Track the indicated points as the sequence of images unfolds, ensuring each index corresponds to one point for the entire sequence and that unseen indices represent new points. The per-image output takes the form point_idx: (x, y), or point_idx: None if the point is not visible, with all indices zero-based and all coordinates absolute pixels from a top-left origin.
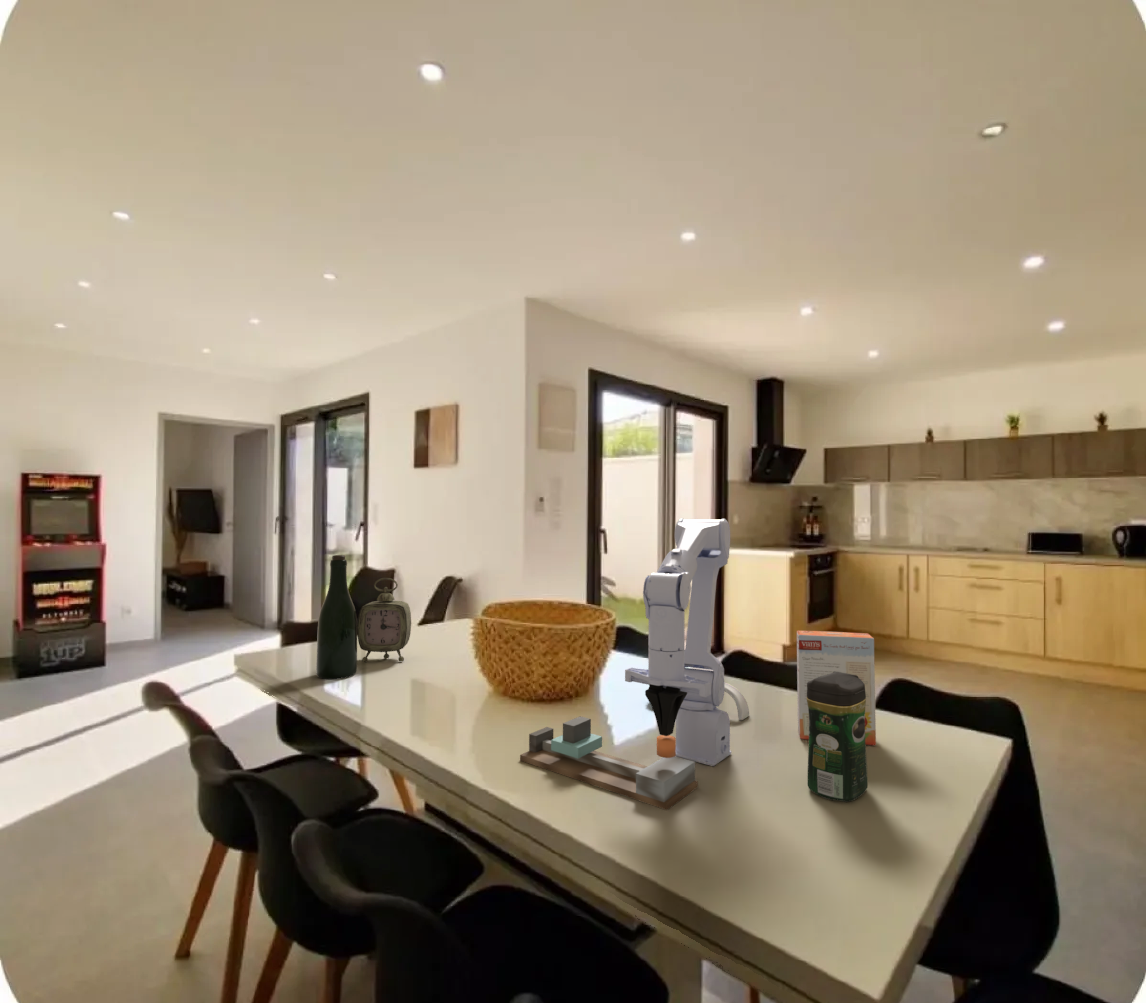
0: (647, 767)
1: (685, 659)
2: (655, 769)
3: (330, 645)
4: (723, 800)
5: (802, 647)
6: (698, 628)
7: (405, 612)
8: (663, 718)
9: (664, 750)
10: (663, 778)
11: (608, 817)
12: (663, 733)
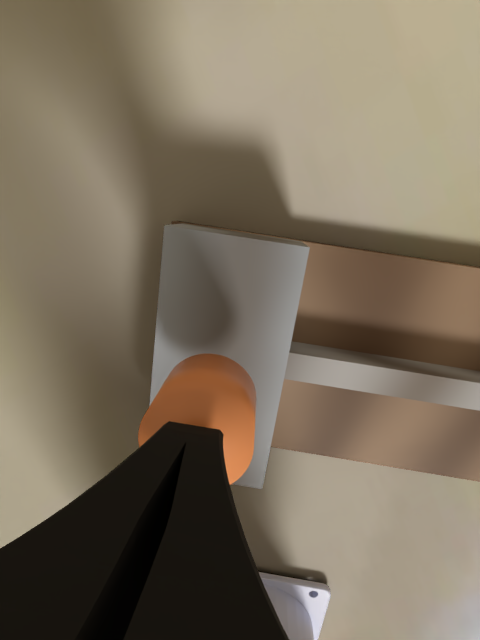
0: (287, 332)
1: None
2: (249, 330)
3: None
4: (63, 372)
5: None
6: None
7: None
8: (138, 497)
9: (193, 369)
10: (181, 259)
11: (337, 49)
12: (185, 429)
